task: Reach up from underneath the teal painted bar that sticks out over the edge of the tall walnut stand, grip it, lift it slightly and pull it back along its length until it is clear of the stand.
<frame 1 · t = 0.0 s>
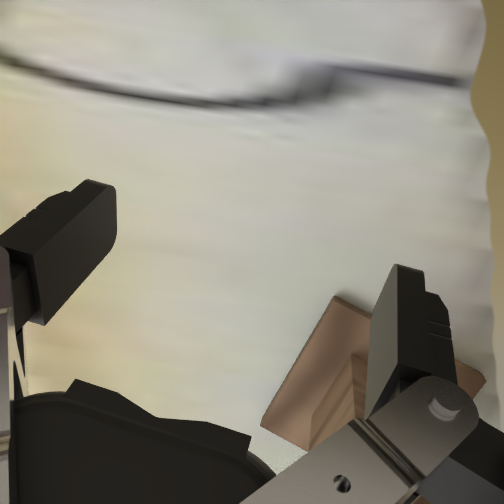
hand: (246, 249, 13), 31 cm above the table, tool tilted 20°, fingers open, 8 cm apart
walnut stand: (365, 396, 48), on the table
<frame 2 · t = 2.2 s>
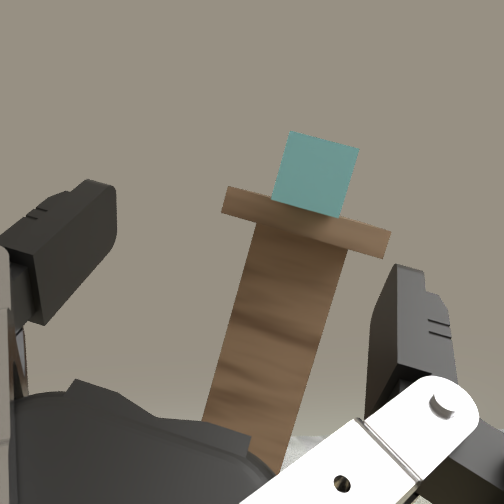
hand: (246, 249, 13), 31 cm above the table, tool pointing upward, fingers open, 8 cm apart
teal bar: (309, 208, 36), point 32 cm above the table, touching walnut stand
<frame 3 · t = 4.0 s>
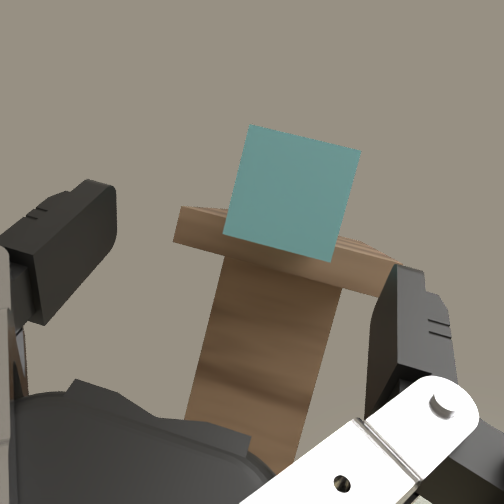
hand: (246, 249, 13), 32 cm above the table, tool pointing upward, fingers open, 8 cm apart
teal bar: (292, 232, 27), point 32 cm above the table, touching walnut stand
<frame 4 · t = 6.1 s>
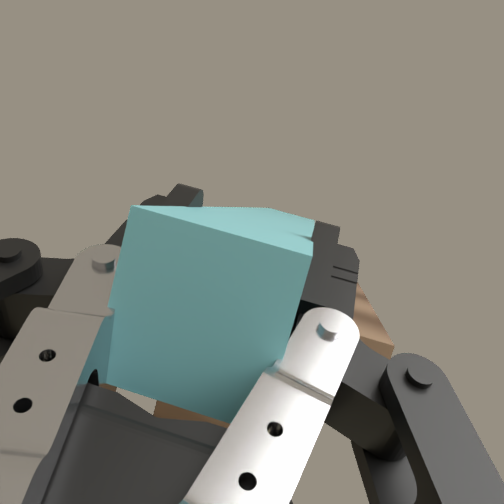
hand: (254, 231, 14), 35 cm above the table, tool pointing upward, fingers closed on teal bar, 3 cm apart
teal bar: (257, 289, 22), point 32 cm above the table, touching gripper, walnut stand
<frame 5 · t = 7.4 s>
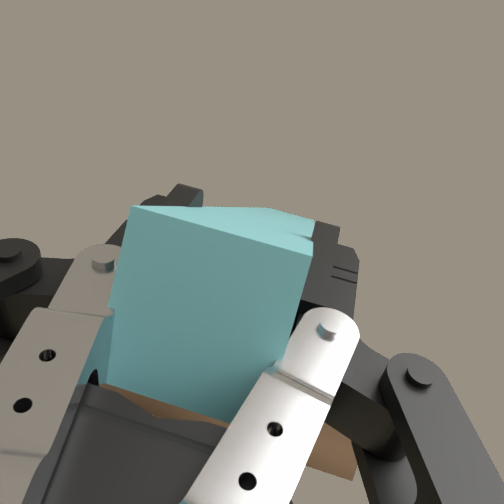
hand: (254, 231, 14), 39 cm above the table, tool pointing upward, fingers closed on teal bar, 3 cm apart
teal bar: (257, 289, 22), point 36 cm above the table, touching gripper
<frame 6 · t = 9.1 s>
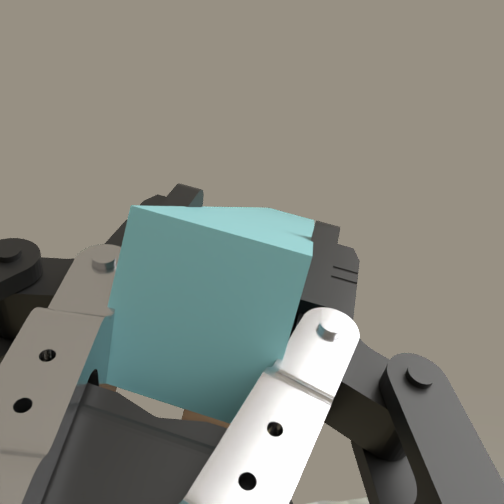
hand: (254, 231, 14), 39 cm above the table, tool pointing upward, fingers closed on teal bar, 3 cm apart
teal bar: (257, 289, 22), point 36 cm above the table, touching gripper
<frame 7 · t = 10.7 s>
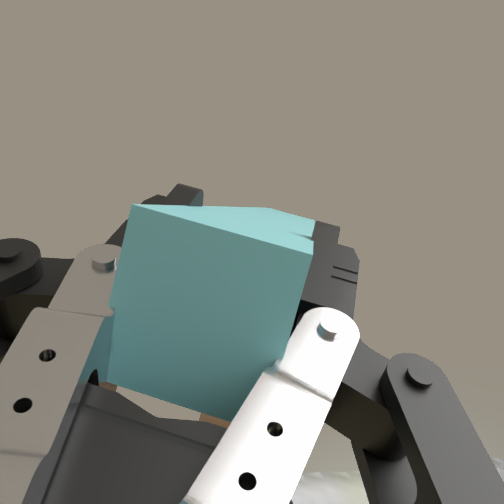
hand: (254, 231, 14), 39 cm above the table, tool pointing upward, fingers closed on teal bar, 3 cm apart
teal bar: (257, 289, 22), point 36 cm above the table, touching gripper
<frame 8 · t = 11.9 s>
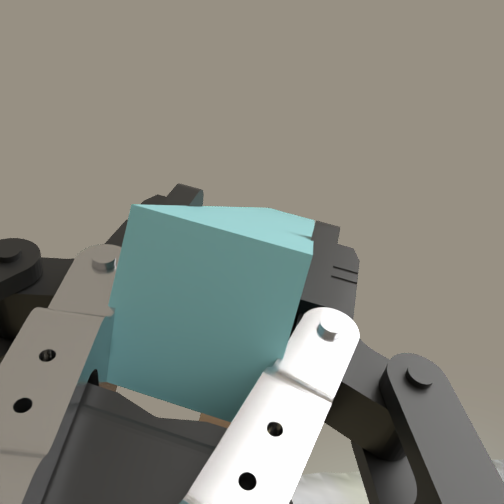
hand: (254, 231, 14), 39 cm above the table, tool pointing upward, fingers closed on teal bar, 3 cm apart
teal bar: (257, 289, 22), point 36 cm above the table, touching gripper
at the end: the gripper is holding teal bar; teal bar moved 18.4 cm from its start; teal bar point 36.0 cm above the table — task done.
